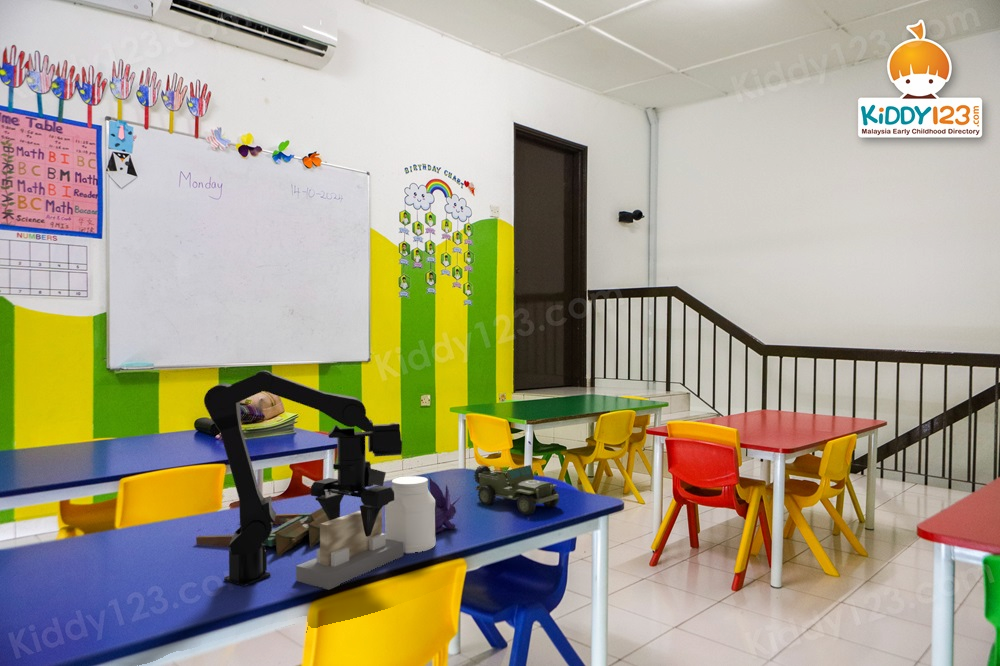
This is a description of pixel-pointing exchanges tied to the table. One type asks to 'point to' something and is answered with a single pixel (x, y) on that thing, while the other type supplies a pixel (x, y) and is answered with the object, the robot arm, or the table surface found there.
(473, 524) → the table surface
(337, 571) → the hinge plinth
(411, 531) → the jar
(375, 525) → the birch door
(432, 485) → the creature
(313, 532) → the miniature gate
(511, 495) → the toy jeep
